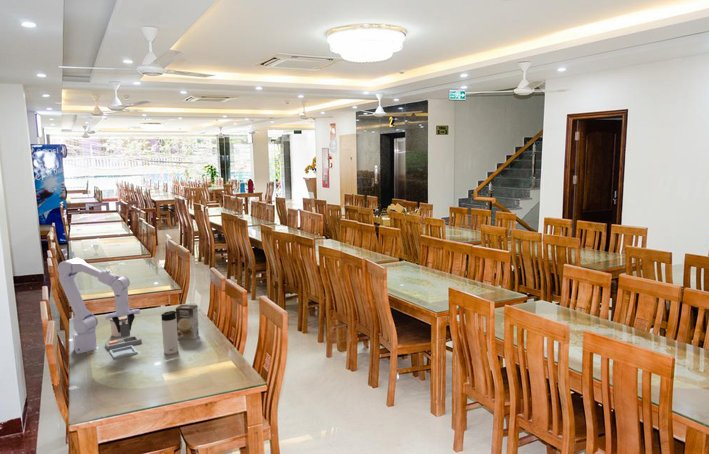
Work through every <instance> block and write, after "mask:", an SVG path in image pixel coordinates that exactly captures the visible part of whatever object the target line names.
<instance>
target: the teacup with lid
mask: <svg viewBox="0 0 709 454" xmlns="http://www.w3.org/2000/svg"><path fill="white" fill-rule="evenodd" d="M118 318H119V323H120V322H122V319H125V322H126V321H128V318H127V316H122V317H118ZM109 321H110V331H111V336H112V337H114V338H121V337H120V335H119V333H118V330H117V327H116V325H115V323H114V321H113V320H112V318H111V319H109Z"/></svg>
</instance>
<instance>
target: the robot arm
mask: <svg viewBox="0 0 709 454" xmlns="http://www.w3.org/2000/svg"><path fill="white" fill-rule="evenodd" d="M56 270H57V273H58V281H59V283H60V285H61V287H62V289H63V292H64V293H65V294H64V295H65V296H66V298H67V301H68V303H69V306H70V307H71V309H72V311H73V314H74V316H73V319H72V323H73V329H74V331H75V332H76V333H73V335H72V337H73V339H72V340H73V350H74V351H75V354H82V353H86V352H90V351H95V350H99V349H100V348H99V346H98V345H97V344H98V343H97V334H96V329H97V326H98V325H99V320H98V317H96V315H94V312H93V311H92V310H89V309H87V306H86V304H85V302H84V300H83V297H82V295H81V292H80V290H79V288H78V287H77V284H76V282H75V277H76V275H77V274H78V273H80V272H83V273H85V274H88V275H89V276H93V277H94V278H97V280H98V282H100V283H102V284H104V285H106V286H109V287H111V290H112V291H113V295H114V305H115V312H112V313H107V314H105V316H104V317H105V320H110V319H111V318H112V320H113V321H114V323H115V325H116V327H117V330H118V333H120V326H119V318H118V317H122V316H127V318H128V323H129V327H130V332H131V331H132V325H133V322H134V319H136V318H135V317H136V316H135V315H139V314H141V311H140V308H135V309H130V302H129V286H130V284H131V283H130V279H129V278H128V276H127V277H126V276H125V275H122V276H120V275H119V274H115V273H114V272H111V270H109V269H107V270H105V269H104V270H101V269H99V268H97V267H95V266H93V265H91V264H90V263H87V262H86V261H85V260H84V259H82V258H80V257H78V256H77V257H73V258H71V259H67V260H63V261H61V262H59V263H58V266H57V267H56Z"/></svg>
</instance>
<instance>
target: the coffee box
mask: <svg viewBox="0 0 709 454" xmlns="http://www.w3.org/2000/svg"><path fill="white" fill-rule="evenodd" d="M175 311H176V324H177V338H178V340H195V339H197V338H198V337H199V336H200V331H199V315H198V314H199V311H198V305H196V304H180V305H178V306H177V307H176V308H175Z"/></svg>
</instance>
